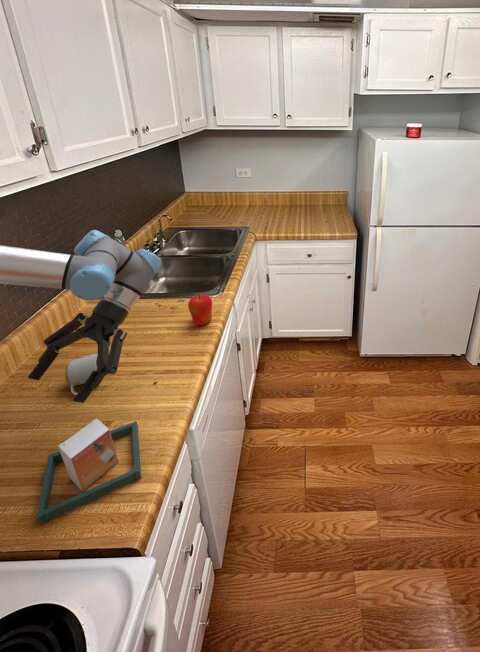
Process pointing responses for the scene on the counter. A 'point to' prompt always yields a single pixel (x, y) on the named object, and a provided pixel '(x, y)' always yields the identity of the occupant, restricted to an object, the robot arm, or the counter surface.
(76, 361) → the ceramic mug
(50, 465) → the empty rectangular frame
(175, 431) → the counter surface
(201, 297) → the apple
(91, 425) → the small box
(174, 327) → the counter surface
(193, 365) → the counter surface
